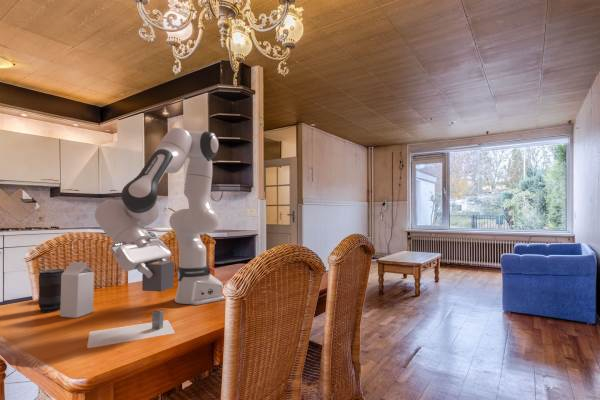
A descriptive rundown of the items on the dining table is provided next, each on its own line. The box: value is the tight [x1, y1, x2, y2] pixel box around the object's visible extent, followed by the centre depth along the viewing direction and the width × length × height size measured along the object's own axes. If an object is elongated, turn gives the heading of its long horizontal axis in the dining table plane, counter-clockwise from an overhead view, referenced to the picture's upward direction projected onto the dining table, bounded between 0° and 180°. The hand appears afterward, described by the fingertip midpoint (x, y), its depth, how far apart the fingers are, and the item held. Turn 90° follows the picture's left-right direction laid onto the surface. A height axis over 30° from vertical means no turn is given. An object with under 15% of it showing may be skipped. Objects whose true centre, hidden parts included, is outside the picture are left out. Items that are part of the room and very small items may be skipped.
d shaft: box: [151, 309, 164, 330], centre depth 102 cm, size 3×3×5 cm
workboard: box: [86, 319, 176, 349], centre depth 98 cm, size 22×14×2 cm, turn 120°
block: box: [141, 260, 175, 293], centre depth 102 cm, size 6×6×8 cm
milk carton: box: [59, 261, 95, 319], centre depth 120 cm, size 7×7×19 cm
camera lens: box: [38, 268, 65, 313], centre depth 126 cm, size 8×8×15 cm
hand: (160, 273), depth 102 cm, fingers closed on block, 6 cm apart
